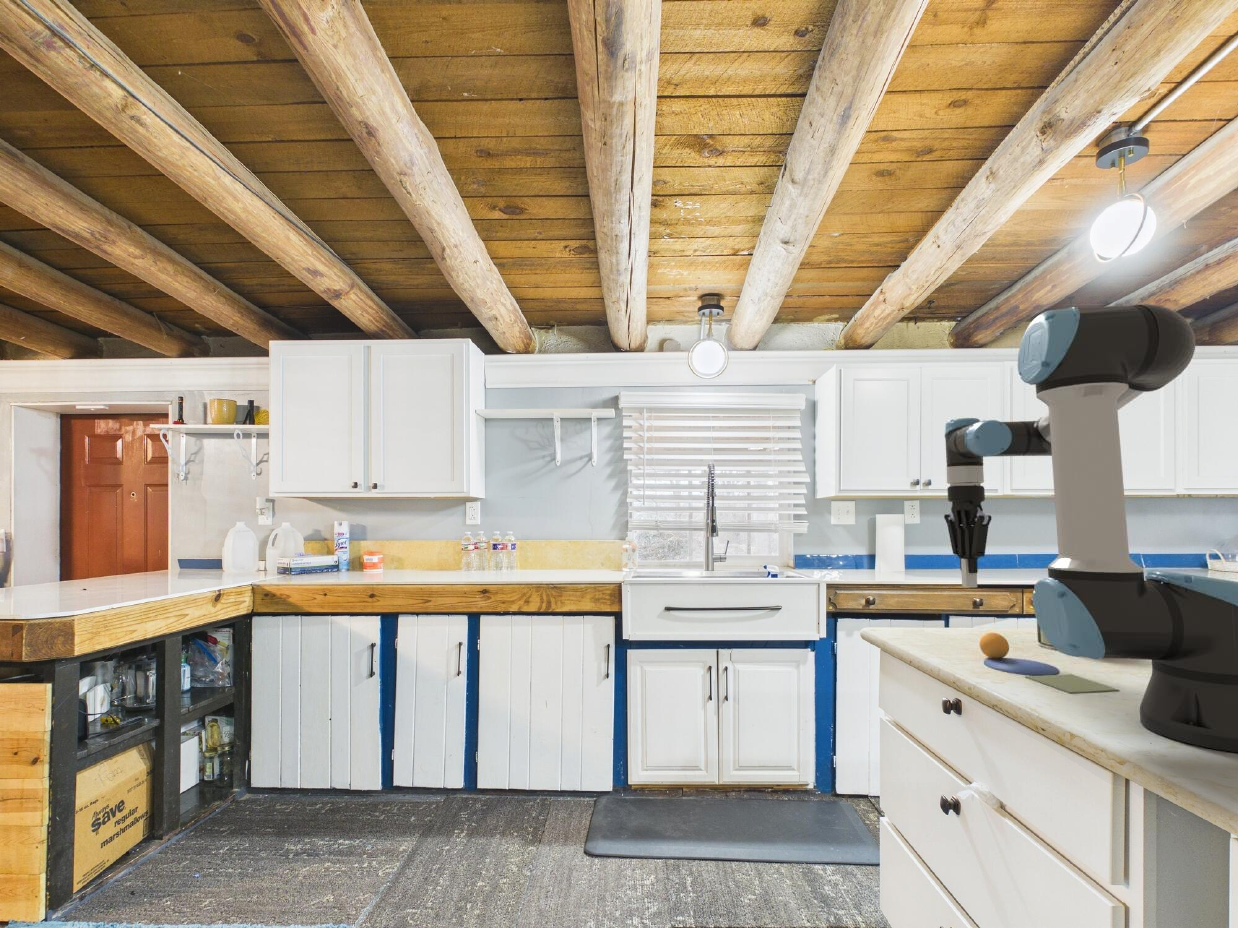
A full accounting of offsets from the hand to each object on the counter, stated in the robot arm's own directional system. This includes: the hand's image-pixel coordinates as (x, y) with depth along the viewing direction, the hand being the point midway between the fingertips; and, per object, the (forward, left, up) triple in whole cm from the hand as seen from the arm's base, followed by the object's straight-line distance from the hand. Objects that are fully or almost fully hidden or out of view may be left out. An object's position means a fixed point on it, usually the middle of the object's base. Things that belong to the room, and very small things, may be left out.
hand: (969, 586), depth 141 cm
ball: (-7, -2, -12) cm, 14 cm away
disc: (-13, -5, -14) cm, 20 cm away
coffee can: (+8, -22, -15) cm, 28 cm away
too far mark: (-24, -9, -14) cm, 30 cm away
